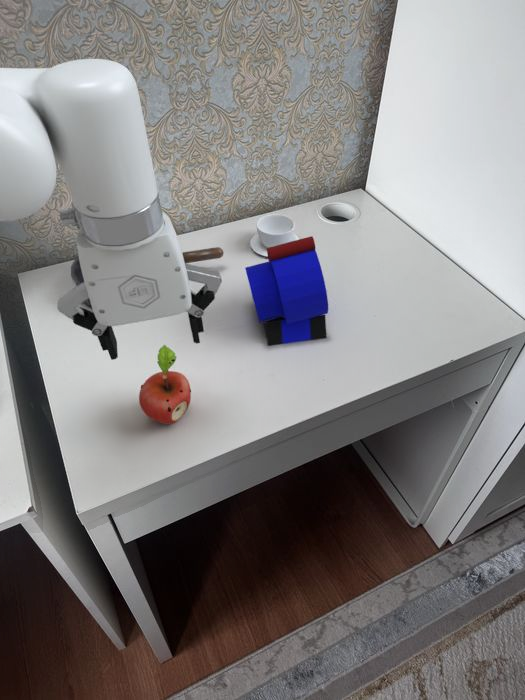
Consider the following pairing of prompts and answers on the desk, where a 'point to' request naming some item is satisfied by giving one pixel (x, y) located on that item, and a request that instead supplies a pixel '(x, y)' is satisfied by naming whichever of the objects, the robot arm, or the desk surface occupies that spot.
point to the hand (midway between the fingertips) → (155, 343)
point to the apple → (165, 391)
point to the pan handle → (202, 255)
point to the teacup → (272, 232)
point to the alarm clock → (290, 292)
